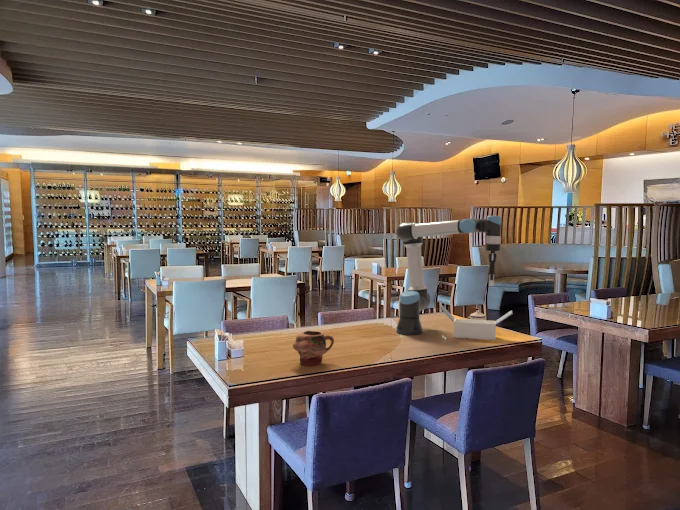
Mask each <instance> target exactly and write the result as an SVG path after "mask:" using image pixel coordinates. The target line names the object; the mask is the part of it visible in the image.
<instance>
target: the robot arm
mask: <svg viewBox="0 0 680 510" xmlns="http://www.w3.org/2000/svg"><path fill="white" fill-rule="evenodd" d="M501 231H502V217H501V215H487V217H486V218H483V219H482V218H464V219H455V220H443V221H442V220H441V221H435V222H434V221H433V222H425V223H424V222H423V223H419V222H416V221H405V222H404V221H403V222H401V223H400V224H398V226H397V227H396V231H395V233H396V236H397V238H398V239H399V240H400V241H402V242H403V246H404V247H405V248H406V256H407V257H406V258H407V259H406V260H407V266H408V267H407V268H408V269H407V270H408V278H409V279H408V280H409V287H408V289H407V291H402V292H401V293H400V294H399V299H398V301H399V302H398V303H399V304H398V306H399V313H398V315H399V320H398V322H397V324H396V333H397V334H400V335H405V336H407V335H409V336H410V335H411V336H414V335H421V334H422V333H423V327H422V323H421V320H420V312H422V311H424V310H426V309H427V308H429V306H430V305H431V301H432V298H431V295H430V293H429V292H428V287H427V286H425V280H424V279H425V278H424V270H423V259H422V247H421V246H422V245H423V244H424V243H423V239H424V237H425V238H426V237H434V236H447V235H455V234H456V235H458V234H470V233H484V234H486V235H485V236H486V238H485V243H486V244H485V250H486V251H489V252H490V253H488V262H489V272H488V273H487V274H488V287H494V286H495V275H496V272H495V266H496V265H495V264H496V261H497V259H496V258H497V253H496V252H500V251H501V240H502V237H501Z"/></svg>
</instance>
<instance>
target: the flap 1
mask: <svg viewBox="0 0 680 510" xmlns="http://www.w3.org/2000/svg"><path fill="white" fill-rule="evenodd" d="M439 309H440V310H441V311H442V312H443V313H444V314H445V315H446V316H447V318H448V319H450V321H452V322H454V321H455V319H456V318H455V317H454V316H453V315H452V313H450V312H449V310H447V309H446V308H445V306H444V305H441V306H440V308H439Z"/></svg>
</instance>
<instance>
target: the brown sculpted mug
mask: <svg viewBox="0 0 680 510" xmlns="http://www.w3.org/2000/svg"><path fill="white" fill-rule="evenodd" d="M328 340H329V341H330V344H329V346H328V347H327V341H328ZM334 343H335V340H334V338H333V336H332V335H330V334H329V335H328V334H326V335H325V334H324V333H323V332H321V331H315V330H313V331H312V330H306V331H304V332H301V333H299V334H297V336H296V338H295V341H294V342H293V344H292V348H293V349H294V350H295V351H296V352H297V353H298V354H299V363H301V364H302V365H304V366H318V365H319V366H320V365H321V363H322V362H323V357H324V356H323V355H325V354H326V353H328V352H329V350H331V349H332V347H333V346H334Z"/></svg>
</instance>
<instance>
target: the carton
mask: <svg viewBox="0 0 680 510" xmlns="http://www.w3.org/2000/svg"><path fill="white" fill-rule="evenodd" d="M496 327H497V324H496V320H486V319H485V320H471V319H470V318H469V319H467V318H455V319H454V321H453V338H454V339H466V338H468V339H467V340H481V339H483V341H487V340H488V341H496V336H497V335H496V333H497V332H496V329H497V328H496Z"/></svg>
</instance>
